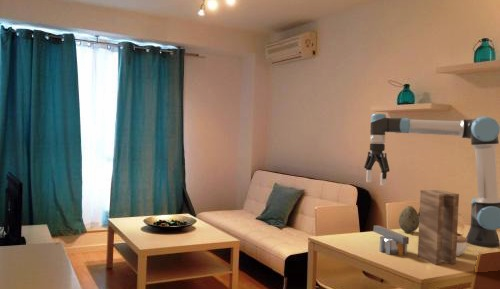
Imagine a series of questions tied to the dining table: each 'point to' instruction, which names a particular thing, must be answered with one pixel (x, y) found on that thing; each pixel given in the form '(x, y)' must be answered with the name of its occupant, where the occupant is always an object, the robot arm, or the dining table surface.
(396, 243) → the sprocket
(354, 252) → the dining table surface
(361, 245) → the dining table surface
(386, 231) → the steel bar
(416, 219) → the decorative egg
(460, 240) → the lidded jar
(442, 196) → the tall wooden pillar
